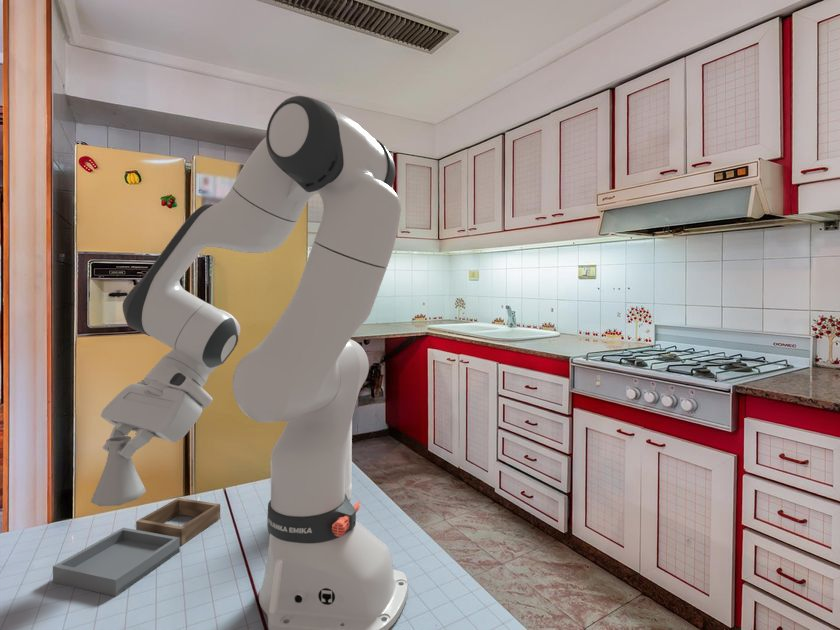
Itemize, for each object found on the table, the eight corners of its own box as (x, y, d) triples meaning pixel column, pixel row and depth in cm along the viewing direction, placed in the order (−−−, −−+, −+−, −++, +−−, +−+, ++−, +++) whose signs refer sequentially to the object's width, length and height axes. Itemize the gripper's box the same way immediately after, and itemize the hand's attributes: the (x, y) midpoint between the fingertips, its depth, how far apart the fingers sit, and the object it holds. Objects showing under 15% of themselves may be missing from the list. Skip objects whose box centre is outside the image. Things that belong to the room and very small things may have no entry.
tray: (179, 551, 79) (179, 537, 79) (116, 596, 67) (115, 580, 67) (123, 540, 83) (123, 527, 82) (53, 582, 71) (52, 566, 70)
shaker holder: (220, 518, 91) (220, 504, 91) (181, 545, 81) (181, 529, 81) (178, 512, 94) (178, 497, 94) (136, 537, 84) (136, 521, 84)
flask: (119, 510, 70) (118, 447, 70) (80, 505, 72) (79, 443, 71) (155, 491, 77) (154, 433, 77) (119, 487, 79) (118, 430, 78)
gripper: (128, 369, 85) (68, 433, 77) (195, 380, 75) (134, 455, 67) (152, 388, 89) (97, 451, 81) (219, 401, 79) (164, 475, 71)
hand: (115, 453), depth 74 cm, fingers closed on flask, 3 cm apart
